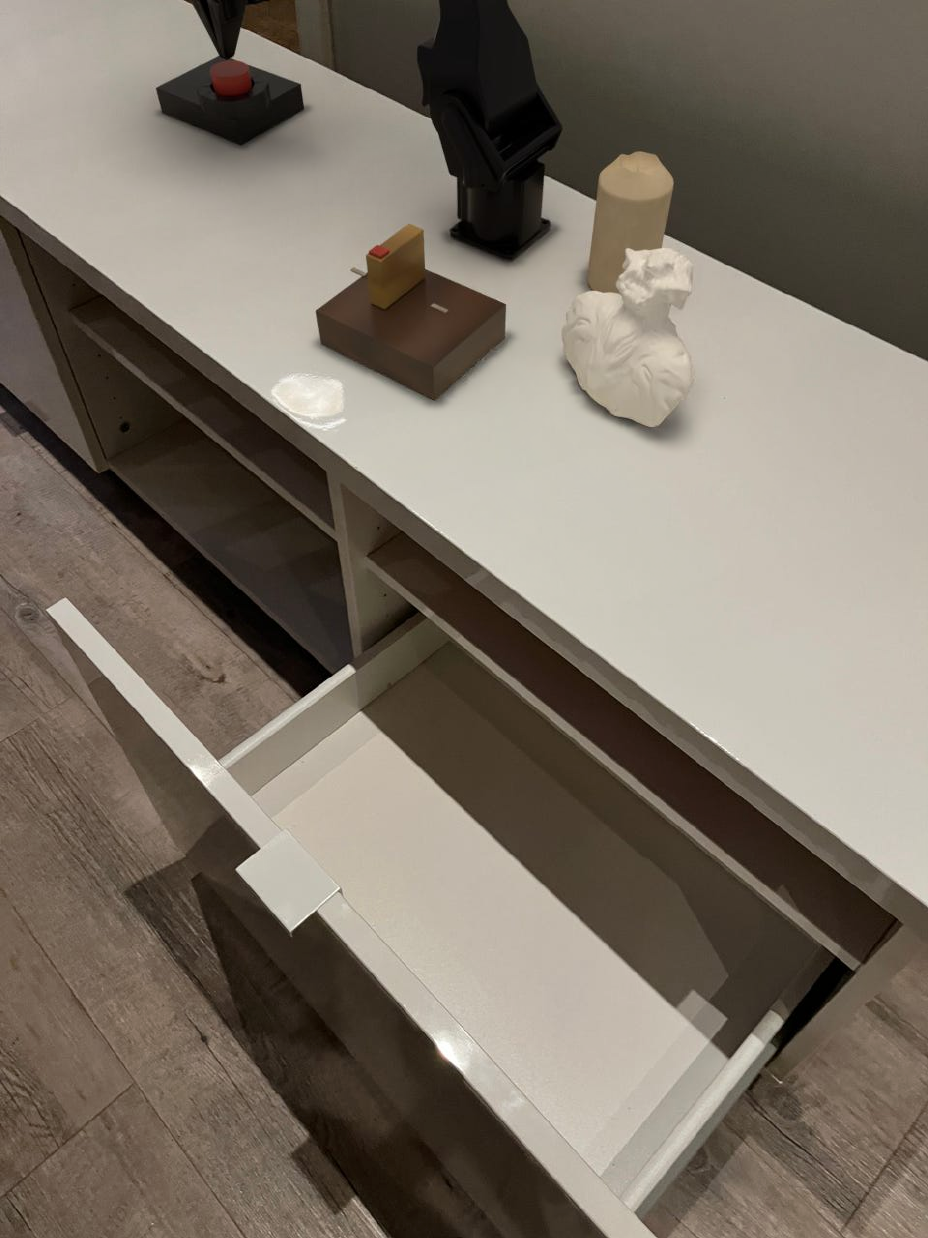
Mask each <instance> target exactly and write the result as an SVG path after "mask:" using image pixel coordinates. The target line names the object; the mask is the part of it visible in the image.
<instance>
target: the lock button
mask: <svg viewBox="0 0 928 1238" xmlns="http://www.w3.org/2000/svg"><path fill="white" fill-rule="evenodd" d="M235 60H236V59H235ZM235 60H229V61H223V62H219V63H217V64H215V65H213V66H212V67H211V69H210V74H211V79H212V83H213V88H214V92H215V93H217V94H220V95H228V96H233V95H238V94H244V93H246V92H248V91H249V90H251V89H252V82H251V77H250V71H249V66H248V65H249V64H248V63H246V62H244V61H241V60H237V61H235ZM247 64H248V65H247Z"/></svg>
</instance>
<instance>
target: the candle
mask: <svg viewBox="0 0 928 1238" xmlns="http://www.w3.org/2000/svg"><path fill="white" fill-rule="evenodd" d="M674 183H675V182H674V178H673V176H672V174H671V173H670V172H669V171H668V169H667V168H666V167H665V166H664V164H663V163H662V162H661V160H660V159H659V157H658V156H657V155H656V154H654V153H649V152H645V151H633V153H631V154H626V153H621V154H619V156H617V158H616V159H614V160H613V161H612V162H611V163H610V164H609V165H607V166H606V167H605V168H604V169H603V170H602V171H601V172H600V174H599V176H598V183H597V192H596V202H595V208H594V209H595V210H594V216H593V217H594V218H593V226H592V233H591V240H590V241H591V242H590V250H589V258H588V269H587V283H588V285H589V287H590V289H591V291H598V292H602V293H608V292H611V293H617V294H620V293H619V290H618V289H617V287H616V282H617V280H618V277H619V276H620V275H621V274H622V273H624V272H625V270H626V269H623V268H622V265H623V263H624V262H625V260H626V254H625V250H626V249H627V248H630V249H632V250H634V251H641V250H654V249H660V248H663V243H664V239H665V234H666V233H665V232H666V227H667V223H668V222H667V221H668V218H669V217H668V216H669V212H670V206H671V200H672V195H673V189H674V185H675V184H674ZM620 295H621V294H620ZM621 296H622V295H621Z"/></svg>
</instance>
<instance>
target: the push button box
mask: <svg viewBox="0 0 928 1238" xmlns="http://www.w3.org/2000/svg"><path fill="white" fill-rule="evenodd" d="M229 60H235V61H238V60H237V59H235V58H233V57H232V58H230V59H228V60H226V59H223V58H221V57H220V56H219V55H217V56H216V57H213V58H211V59H210V60H207V61H206V62H204V63H201V64H199V65H198V66H195V67H194V68H192V69H190V70H188V71H186V72H184V73H182V74H180V75H178V76H176V77H174V78H172V79H171V80H168V81H166V82H164V83H162V84H160V85H158V86H156V87H155V92H156V95H157V99H158V103H159V107H160V111H161V114H164V115H166V116H168V117H171V118H174V119H176V120H179V121H181V122H183V123H185V124H189V125H191V126H193V127H195V128H198V129H199V130H202V131H204V132H207V133H209V134H212V135H215V136H217V137H219V138H222V139H224V140H226V141H229V142H231V143H233V144H236V145H238V146H243V145H245V144H248V143H249V142H250V141H252V140H253V139H255V138H258V137H259V136H260V135H262V134H264V133H266V132H267V131H270V130H271V129H272V128H274V127H276V126H278V125H279V124H281V123H283V122H285V121H287V120H288V119H289V118H292V117H293V116H295V115H297V114H298V113H300V112H303V110H305V104H304V103H305V102H304V97H303V90H302V89H303V88H302V84H301V83H299V82H296V81H294V80H291V79H288V78H286V77H283V76H280V75H279V74H275V73H272V72H269V71H266V70H264V69H261V68H258V67H257V66H254V65H250V64H248V63H246V64H247V65H248V66H249V71H250V77H251V82H252V89H251V90H249V91H248V92H246V93H244V94H238V95H233V96H228V95H220V94H217V93H215V92H214V88H213V83H212V79H211V74H210V69H211V67H212V66H213V65H215V64H217V63H219V62H223V61H229Z"/></svg>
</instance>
